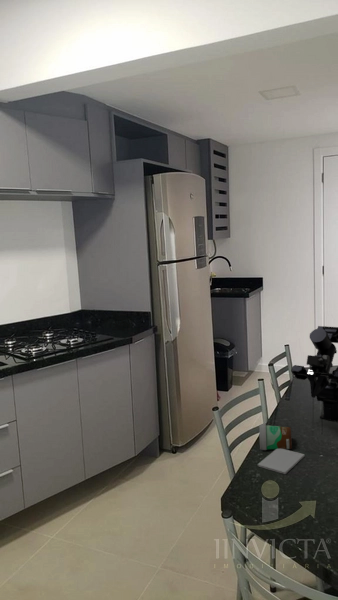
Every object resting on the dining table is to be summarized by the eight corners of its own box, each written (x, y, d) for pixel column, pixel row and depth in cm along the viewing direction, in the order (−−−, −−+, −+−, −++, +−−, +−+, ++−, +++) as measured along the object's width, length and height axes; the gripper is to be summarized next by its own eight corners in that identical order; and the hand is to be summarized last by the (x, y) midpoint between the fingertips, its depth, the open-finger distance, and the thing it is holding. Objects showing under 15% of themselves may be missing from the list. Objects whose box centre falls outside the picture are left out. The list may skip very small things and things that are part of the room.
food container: (291, 431, 147) (259, 431, 149) (292, 450, 148) (259, 450, 150) (289, 418, 159) (259, 417, 161) (290, 435, 160) (260, 435, 162)
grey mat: (278, 449, 151) (277, 447, 151) (304, 456, 145) (304, 454, 145) (257, 466, 141) (257, 464, 141) (285, 474, 135) (285, 472, 135)
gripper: (292, 343, 167) (278, 381, 160) (344, 347, 155) (333, 390, 148) (302, 359, 174) (290, 396, 167) (353, 365, 162) (342, 406, 155)
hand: (312, 397), depth 159 cm, fingers closed
